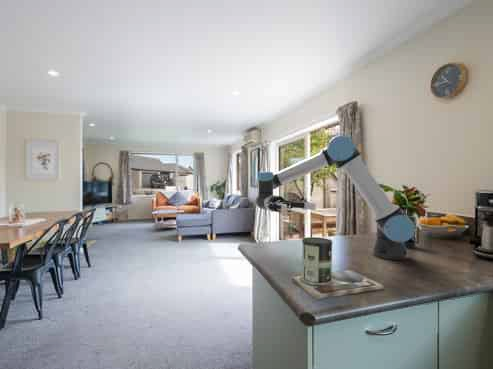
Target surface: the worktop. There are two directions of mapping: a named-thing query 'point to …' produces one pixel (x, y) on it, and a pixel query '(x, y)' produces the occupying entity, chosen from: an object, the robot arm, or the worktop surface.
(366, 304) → the worktop surface
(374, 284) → the board
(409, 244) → the french press
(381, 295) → the worktop surface
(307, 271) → the coffee can
